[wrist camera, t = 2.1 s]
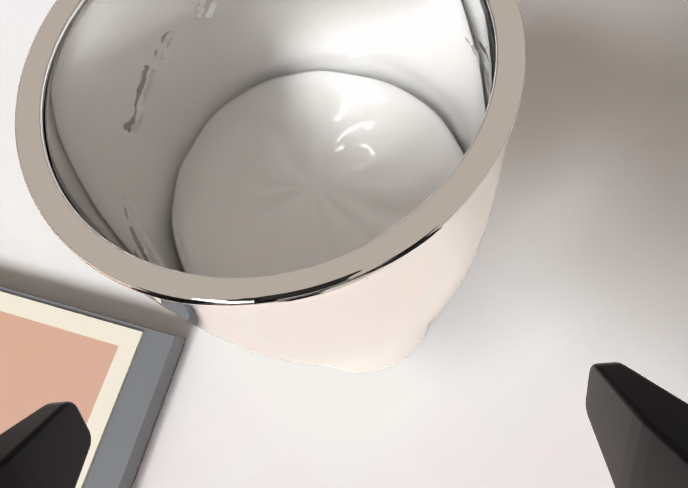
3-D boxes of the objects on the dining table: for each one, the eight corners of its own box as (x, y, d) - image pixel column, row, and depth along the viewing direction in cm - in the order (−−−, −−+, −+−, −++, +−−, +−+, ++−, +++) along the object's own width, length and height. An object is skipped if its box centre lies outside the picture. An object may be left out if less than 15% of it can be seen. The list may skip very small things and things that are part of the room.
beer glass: (382, 421, 18) (312, 480, 4) (249, 322, 20) (-107, 133, 6) (474, 278, 20) (654, -44, 6) (341, 198, 22) (224, -189, 8)
